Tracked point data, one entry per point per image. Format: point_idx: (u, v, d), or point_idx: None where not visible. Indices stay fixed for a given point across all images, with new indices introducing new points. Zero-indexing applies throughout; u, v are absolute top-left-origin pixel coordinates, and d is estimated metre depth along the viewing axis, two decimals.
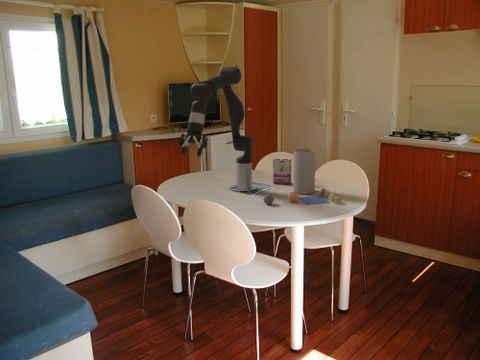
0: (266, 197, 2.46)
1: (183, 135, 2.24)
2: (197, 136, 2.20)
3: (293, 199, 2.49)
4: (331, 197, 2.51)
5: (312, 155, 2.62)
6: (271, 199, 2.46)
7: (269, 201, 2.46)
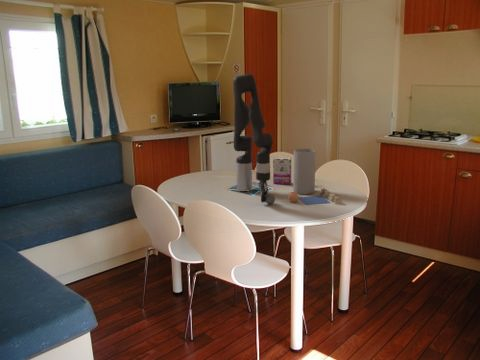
0: (267, 196, 2.46)
1: None
2: None
3: (293, 199, 2.49)
4: (331, 197, 2.51)
5: (312, 155, 2.62)
6: (272, 199, 2.46)
7: (270, 201, 2.46)
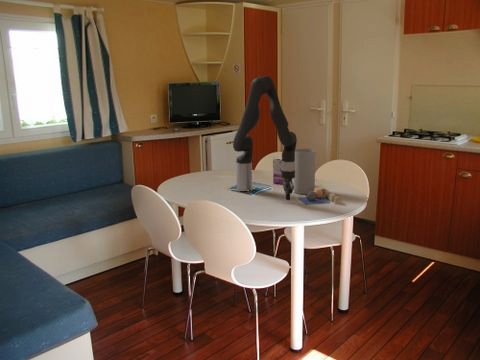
0: (308, 198, 2.51)
1: None
2: None
3: (319, 195, 2.55)
4: (331, 197, 2.51)
5: (312, 155, 2.62)
6: (313, 196, 2.50)
7: (313, 198, 2.51)
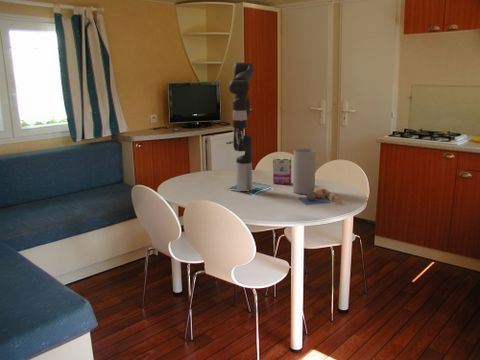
0: (308, 198, 2.51)
1: None
2: None
3: (319, 195, 2.55)
4: (331, 197, 2.51)
5: (312, 155, 2.62)
6: (313, 196, 2.50)
7: (313, 198, 2.51)
